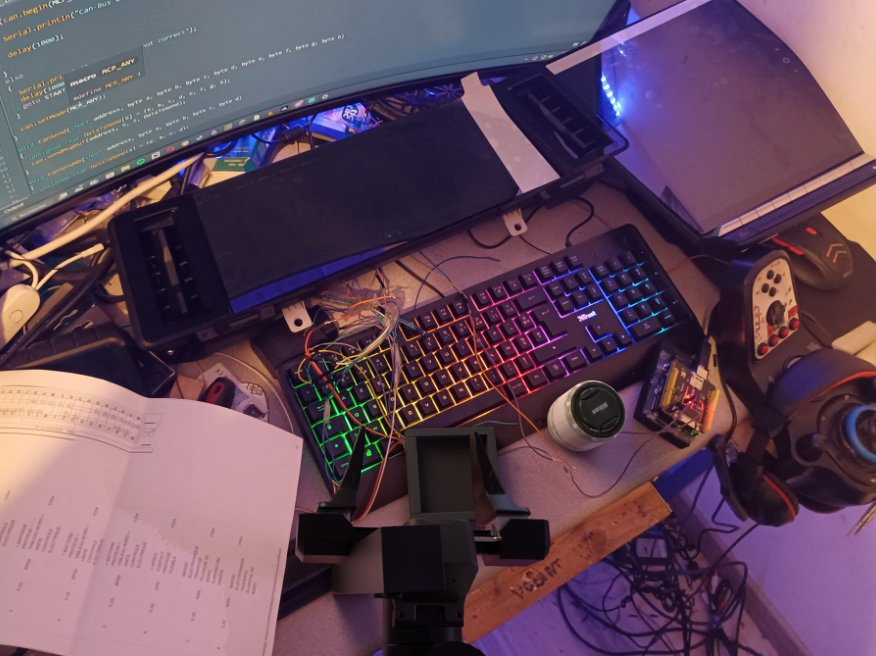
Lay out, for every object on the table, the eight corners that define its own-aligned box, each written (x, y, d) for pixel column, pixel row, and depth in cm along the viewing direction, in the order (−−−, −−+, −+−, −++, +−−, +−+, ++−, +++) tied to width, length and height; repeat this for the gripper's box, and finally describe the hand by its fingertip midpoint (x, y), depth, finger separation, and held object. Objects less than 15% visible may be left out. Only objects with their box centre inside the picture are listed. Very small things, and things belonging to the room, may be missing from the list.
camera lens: (532, 415, 78) (557, 397, 71) (575, 386, 80) (604, 366, 73) (566, 465, 76) (595, 452, 69) (609, 435, 78) (642, 419, 71)
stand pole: (363, 592, 69) (445, 589, 34) (331, 594, 68) (383, 593, 34) (361, 558, 70) (440, 523, 36) (331, 560, 70) (380, 526, 35)
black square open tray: (498, 521, 73) (505, 518, 71) (409, 525, 72) (413, 523, 70) (488, 431, 77) (494, 426, 75) (403, 433, 75) (407, 428, 73)
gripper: (591, 641, 45) (563, 402, 52) (292, 640, 43) (307, 390, 50) (535, 645, 55) (518, 443, 62) (289, 644, 53) (302, 434, 60)
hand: (418, 429), depth 58 cm, fingers open, 9 cm apart
